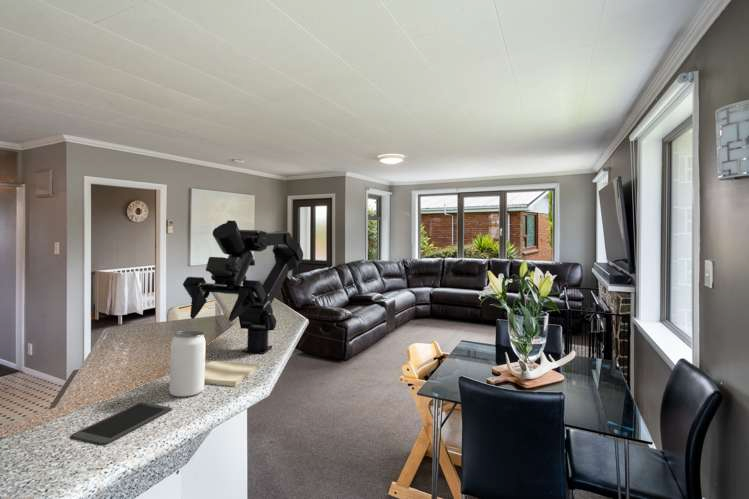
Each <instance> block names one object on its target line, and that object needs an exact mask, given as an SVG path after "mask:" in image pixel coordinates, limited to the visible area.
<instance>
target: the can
mask: <svg viewBox="0 0 749 499" xmlns="http://www.w3.org/2000/svg"><path fill="white" fill-rule="evenodd" d="M204 334H205V333H204V332H203V331H201V330H183V331H177V332H174V333H173V338H172V340H171V342H170V362H169V364H170V366H169V393H170V395H171V396H172V397H176V398H188V397H194V396H197V395H199V394H201V393H202V392H203V391H204V389H205V383H204V381H205V365H206V349H207V348H206V346H207V345H206V339H205V335H204Z"/></svg>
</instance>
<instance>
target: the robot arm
mask: <svg viewBox="0 0 749 499" xmlns="http://www.w3.org/2000/svg"><path fill="white" fill-rule="evenodd" d="M212 236H213V238H214V240H215V242H216V243H217V245H218V247H219V249H220V250H221V252H222V253H223V254H224V255H227V257H221V256H220V257H218V256H209V257H208V259H207V260H208V261H207V263H206V266H205V271H206V272H209V273H210V274H211V275H210V278H211V280H212V281H214V283H213V282H212V283H211V282H207V281H206V280H205V277H204V276H203V277H202V276H201V277H200V276H187V277H186V278H185V280H184V282H182V286H183V287H184V289H185V291H186V292H187V294H188V295H189V296H190V298H191V306H190V315H189V317H190V318H191V319H192V320H194V319H195V318H196V317H197V316H198V314H199V312H201V311H202V308H203V307H204V306H205V304H207V299H208V298H209V296H210V293H221V294H224V295H236V296H237V299H236V301H235V303H234V305H233V308H232V309H231V311H230V314H229V317H228V321H229V322H232V323H233V321H234V320H235V319H238V320H239V327H240V329H241V330H243V329H245V330H247V338H246V340H247V341H246V342H247V343H246V344H247V345H246V347H244V348H243V349H242V350H241V352H243V353H253V354H265V353H267V352H268V351H270V350H271V349H272V348H273V345H269V332H270V331H275V329H276V327H277V319H276V317H275V315H274V314H273V313H274V310H273V309H274V308H273V305H272V303H273V302H274V300H275V298H276V296H277V295H278V292H279V291H280V289H281V288H282V285H283V284H284V281H285V280H286V278H287V276H288V274H289V273H290V272H291V271H293V270H294V269H296V268H298V266H299V265H300V264H301V263H302V261H303V259H304V252H303V249H302V247H301V244H300V243H299V241H297V240H296V239H294V238H293V237H292V234H291V233H290V232H288V231H282V230H281V231H280V230H276V231H272V232H271V231H269V232H268V231H267V232H266V231H264V230H259V229H258V230H255V229H240V228H239V227H238V224H237V221H236V220H228V219H227V221H226V222H224V223H222V224H219V225H218V226H216V227H215V228H214V229H213V230H212ZM271 246H273V249H272V253H273V256H274V260H275V264H274V265H273V267H272V268H271V271H270V272H269V273H268V275H267V277H266V278H265V280H264V282H263V283H262V282H261V281H260V280H255V279H248V278H247V276H246V274H247V272H248V270H249V268H250V266H251V267H253V266H255V265H256V261H255V259H254V254H253V253H252V252H259V253H260V252H264V251H265V250H266V249H268V247H271Z"/></svg>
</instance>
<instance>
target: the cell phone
mask: <svg viewBox="0 0 749 499" xmlns="http://www.w3.org/2000/svg"><path fill="white" fill-rule="evenodd" d="M171 411H173V408H172V407H171V406H165V405H162V404H161V405H159V404H155V403H150V402H138V403H136V404H133V405H131V406H129V407H128V408H125V409H123V410H120V411H118V412H117V413H113V414H112V415H110V416H108V417H106V418H103V419H101V420H99V421H97V422H95V423H92V424H91V425H89V426H86V427H84V428H82V429H79V430H78V431H75V432H73V433H72V434H71V435H70V439H72V440H75V439H76V440H75V441H80V442H85V443H89V444H94V445H99V446H107V445H109V444H111V443H113V442H115V441H117V440H119V439H121V438H123V437H124V436H126V435H128V434H131V433H133V432H134V431H136V430H138V429H140V428H142V427H143V426H145V425H147V424H149V423H151V422H153V421H154V420H157V419H158V418H161V417H163V416H164V415H166V414H168V413H170V412H171Z"/></svg>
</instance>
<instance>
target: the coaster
mask: <svg viewBox="0 0 749 499" xmlns="http://www.w3.org/2000/svg"><path fill="white" fill-rule="evenodd" d="M259 369H260V364H257V363H256V364H255V363H254V364H253V363H245V362H244V363H243V362H232V361H221V360H212V361H209V363H207V364H206V363H205V381H204V384H206V385H207V384H208V385H219V386H228V387H229V386H230V387H237V386H238V385H239V384H240V383H242V382H243V381H245V380H246V379H248V378H249V377H250V376H251V375H253V374H254V373H255V372H257V371H258V370H259ZM248 376H249V377H248ZM244 379H245V380H244Z"/></svg>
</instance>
